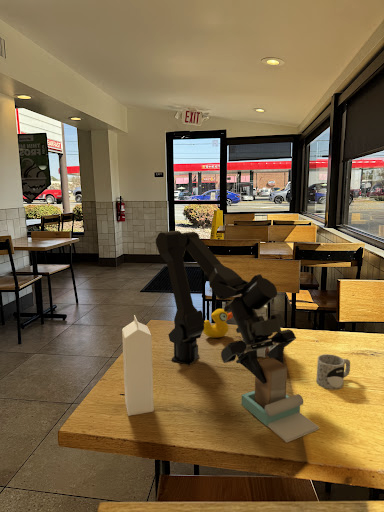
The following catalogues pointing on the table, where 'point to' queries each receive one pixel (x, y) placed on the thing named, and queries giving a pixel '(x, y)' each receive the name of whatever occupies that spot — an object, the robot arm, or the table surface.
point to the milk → (137, 368)
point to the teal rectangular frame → (281, 416)
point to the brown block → (271, 382)
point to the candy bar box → (263, 313)
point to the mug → (332, 371)
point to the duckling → (217, 324)
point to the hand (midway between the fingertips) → (274, 380)
